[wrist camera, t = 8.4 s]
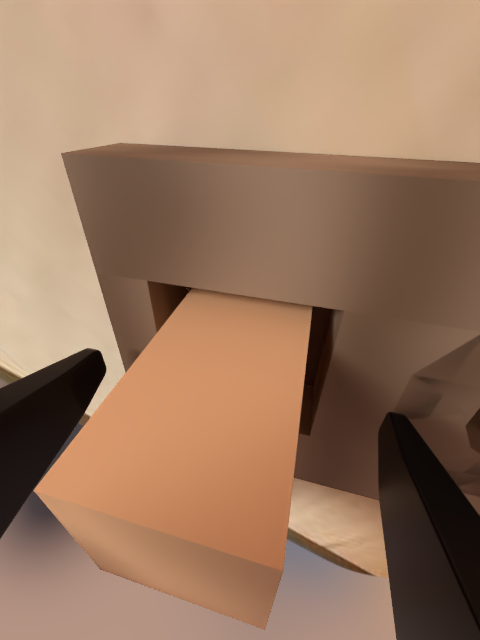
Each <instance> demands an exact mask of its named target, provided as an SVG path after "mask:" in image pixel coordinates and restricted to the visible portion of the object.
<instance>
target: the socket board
mask: <svg viewBox="0 0 480 640" xmlns="http://www.w3.org/2000/svg"><path fill="white" fill-rule="evenodd" d="M61 155H62V158H63V161H64V165H65V168H66V172H67V175H68V178H69V182H70V185H71V188H72V192H73V195H74V199H75V202H76V205H77V209H78V212H79V216H80V219H81V222H82V226H83V229H84V232H85V236H86V239H87V243H88V246H89V249H90V253H91V256H92V260H93V263H94V266H95V270H96V273H97V277H98V280H99V283H100V287H101V290H102V293H103V297H104V300H105V304H106V307H107V310H108V314H109V317H110V321H111V324H112V327H113V331H114V334H115V338H116V341H117V344H118V348H119V351H120V354H121V358H122V361H123V365H124V368H125V371H126V372H127V371H128V369H129V368H130V367H131V365H132V364H133V363H134V362H135V360H136V359H137V358H138V357H139V355H140V354H141V353H142V351H143V350H144V349H145V348H146V346H147V345H148V344H149V343H150V341H151V340H152V339H153V337H154V336H155V335H156V334H157V332H158V331H159V330H160V328H161V327H162V326H163V325H164V323H165V322H166V321H167V320H168V318H169V317H170V316H171V314H172V313H173V312H174V311H175V309H176V308H177V307H178V306H179V304H180V303H181V302H182V300H183V299H184V298H185V297H186V287H192V288H198V289H205V290H211V291H218V292H225V293H231V294H238V295H244V296H251V297H257V298H264V299H270V300H277V301H284V302H290V303H297V304H303V305H310V306H316V307H323V308H329V309H332V314H331V318H330V322H329V326H328V330H327V334H326V338H325V342H324V346H323V350H322V354H321V358H320V362H319V366H318V370H317V374H316V379H315V383H314V386H312V385H307V384H304V388H303V397H302V406H301V415H300V424H299V433H298V442H297V451H296V460H295V469H294V478H297V479H301V480H305V481H308V482H312V483H316V484H320V485H323V486H327V487H331V488H335V489H339V490H342V491H346V492H350V493H354V494H357V495H361V496H365V497H369V498H372V499H376V500H379V490H378V432H379V428H380V426H381V424H382V422H383V420H384V418H385V416H386V414H387V413H388V412H396V413H401V414H404V415H405V416H407V418H408V419H409V420H410V422H411V423H412V424H413V426H414V427H415V428H416V430H417V431H418V432H419V434H420V435H421V437H422V438H423V439H424V441H425V442H426V443H427V445H428V446H429V447H430V449H431V450H432V451H433V453H434V454H435V456H436V457H437V458H438V460H439V461H440V462H441V464H442V465H443V466H444V468H445V469H446V470H447V472H448V473H449V475H450V476H451V477H452V479H453V480H454V481H455V483H456V484H457V485H458V487H459V488H460V489H461V491H462V492H463V494H464V495H465V496H466V498H467V499H468V500H469V502H470V503H471V504H472V506H473V507H474V508H475V510H476V511H477V513H478V514H479V515H480V163H469V162H451V161H433V160H415V159H397V158H379V157H361V156H343V155H325V154H307V153H289V152H271V151H253V150H235V149H217V148H199V147H181V146H163V145H145V144H127V143H118V144H112V145H107V146H101V147H95V148H89V149H83V150H78V151H72V152H66V153H61Z"/></svg>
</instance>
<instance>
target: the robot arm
mask: <svg viewBox="0 0 480 640" xmlns="http://www.w3.org/2000/svg"><path fill="white" fill-rule="evenodd" d="M105 373H106V365H105V362H104V359H103V357H102V354H101V352H100V351H99V350H96V349H91V348H87V349H84V350H82V351H80V352H78V353H75V354H73V355H71V356H69V357H67V358H65V359H63V360H60V361H58V362H56V363H54V364H52V365H50V366H47V367H45V368H43V369H41V370H39V371H37V372H35V373H32V374H30V375H28V376H26V377H24V378H22V379H19V380H17V381H15V382H13V383H11V384H9V385H7V386H5V387H2V388H0V538H1V537H2V535H3V534H4V532H5V531H6V530H7V528H8V527H9V525H10V523H11V522H12V521H13V519H14V518H15V516H16V515H17V513H18V512H19V510H20V509H21V507H22V506H23V504H24V503H25V501H26V500H27V498H28V497H29V495H30V494H31V492H32V491H33V489H34V488H35V486H36V485H37V483H38V482H39V480H40V479H41V477H42V476H43V474H44V473H45V471H46V470H47V468H48V467H49V465H50V464H51V462H52V461H53V459H54V458H55V457H56V455H57V453H58V452H59V451H60V449H61V447H62V446H63V445H64V443H65V442H66V440H67V439H68V437H69V436H70V434H71V432H72V431H73V430H74V428H75V427H76V425H77V424H78V422H79V421H80V419H81V418H82V416H83V414H84V413H85V411H86V409H87V407H88V406H89V404H90V402H91V400H92V398H93V396H94V394H95V393H96V391H97V389H98V387H99V385H100V383H101V381H102V380H103V378H104V376H105ZM378 490H379V501H380V509H381V517H382V526H383V534H384V542H385V550H386V558H387V566H388V574H389V582H390V590H391V599H392V607H393V614H394V623H395V631H396V639H397V640H480V515H479V514H478V513H477V511H476V510H475V508H474V507H473V506H472V504H471V503H470V502H469V500H468V499H467V498H466V496H465V495H464V494H463V492H462V491H461V489H460V488H459V487H458V485H457V484H456V483H455V481H454V480H453V479H452V477H451V476H450V475H449V473H448V472H447V470H446V469H445V468H444V466H443V465H442V464H441V462H440V461H439V460H438V458H437V457H436V456H435V454H434V453H433V451H432V450H431V449H430V447H429V446H428V445H427V443H426V442H425V441H424V439H423V438H422V437H421V435H420V434H419V432H418V431H417V430H416V428H415V427H414V426H413V424H412V423H411V422H410V420H409V419H408V418H407V416H405V415H404V414H401V413H396V412H388V413H387V414H386V416H385V418H384V420H383V422H382V424H381V426H380V428H379V432H378Z"/></svg>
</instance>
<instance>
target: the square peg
mask: <svg viewBox="0 0 480 640" xmlns="http://www.w3.org/2000/svg"><path fill="white" fill-rule="evenodd" d="M311 315H312V306H310V305H303V304H297V303H290V302H284V301H277V300H270V299H264V298H257V297H251V296H244V295H238V294H231V293H225V292H218V291H211V290H205V289H198V288H192V289H191V290H190V291H189V293H188V294H187V295H186V297H185V298H184V299H183V300H182V302H181V303H180V304H179V306H178V307H177V308H176V309H175V311H174V312H173V313H172V314H171V316H170V317H169V318H168V320H167V321H166V322H165V323H164V325H163V326H162V327H161V328H160V330H159V331H158V332H157V334H156V335H155V336H154V337H153V339H152V340H151V341H150V343H149V344H148V345H147V346H146V348H145V349H144V350H143V351H142V353H141V354H140V355H139V357H138V358H137V359H136V360H135V362H134V363H133V364H132V365H131V367H130V368H129V369H128V371H127V372H126V373H125V374H124V376H123V377H122V378H121V380H120V381H119V382H118V383H117V385H116V386H115V387H114V388H113V390H112V391H111V392H110V394H109V395H108V396H107V397H106V399H105V400H104V401H103V402H102V404H101V405H100V406H99V408H98V409H97V410H96V411H95V413H94V414H93V415H92V417H91V418H90V419H89V420H88V422H87V423H86V424H85V425H84V427H83V428H82V430H81V431H80V432H79V433H78V434H77V436H76V437H75V438H74V440H73V441H72V442H71V444H70V445H69V446H68V447H67V449H66V450H65V451H64V452H63V454H62V455H61V456H60V457H59V459H58V460H57V461H56V463H55V464H54V465H53V466H52V468H51V469H50V470H49V471H48V473H47V474H46V475H45V477H44V478H43V479H42V480H41V482H40V483H39V484H38V486H37V487H36V488H35V489H34V491H35V493H36V494H37V495H38V496H39V497H40V499H42V501H43V502H44V503H45V504H46V506H47V507H48V508H49V509H50V510H51V512H52V513H53V514H54V515H55V516H56V517H57V519H58V520H59V521H60V522H61V523H62V525H63V526H64V527H65V528H66V529H67V530H68V532H69V533H70V534H71V535H72V536H73V538H74V539H75V540H76V541H77V542H78V544H79V545H80V546H81V547H82V548H83V549H84V551H86V553H87V554H88V555H89V556H90V558H91V559H92V560H93V561H94V562H95V564H96V565H97V566H98V567H99V568H100V569H101V570H104V571H106V572H109V573H112V574H114V575H117V576H120V577H123V578H126V579H128V580H131V581H133V582H136V583H139V584H142V585H144V586H147V587H150V588H153V589H155V590H158V591H161V592H164V593H166V594H169V595H172V596H174V597H177V598H180V599H182V600H185V601H188V602H191V603H193V604H197V605H199V606H202V607H204V608H207V609H210V610H212V611H215V612H218V613H221V614H223V615H226V616H229V617H232V618H234V619H237V620H240V621H242V622H245V623H248V624H250V625H253V626H256V627H259V628H261V629H264V630H265V628H266V625H267V621H268V618H269V615H270V612H271V609H272V605H273V602H274V599H275V596H276V593H277V589H278V586H279V583H280V580H281V576H282V573H283V568H284V559H285V550H286V541H287V532H288V523H289V514H290V505H291V496H292V487H293V478H294V469H295V460H296V451H297V442H298V433H299V424H300V415H301V406H302V397H303V388H304V379H305V370H306V361H307V352H308V342H309V333H310V324H311Z"/></svg>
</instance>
